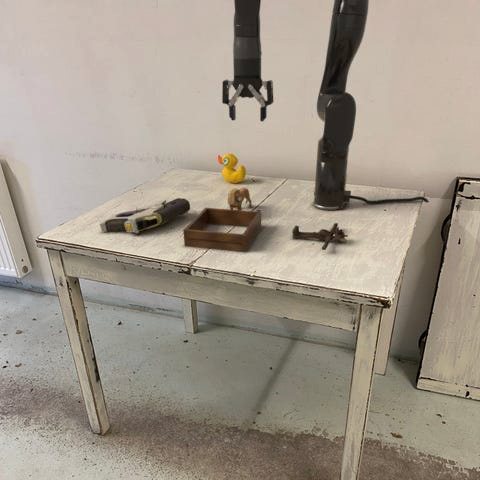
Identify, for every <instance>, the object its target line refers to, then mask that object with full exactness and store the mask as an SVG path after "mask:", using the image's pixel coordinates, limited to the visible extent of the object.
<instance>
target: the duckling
mask: <svg viewBox="0 0 480 480" xmlns="http://www.w3.org/2000/svg"><path fill="white" fill-rule="evenodd" d="M217 161H218V163H219V164H220V165H223V168H222V170H221V175H222V178H223V179H224V180H225V181H226V182H227V183H230V184H231V183H232V184H238V183H240V182H243V181H244V180H245V179H246V176H247V170H246V166H244V165H243V164H240V165H238V163H239V158H237V157H236V155H235V154H233V153H226V154H224V155H223V156H222V157H221V155H217ZM237 165H238V167H237V170H236V169H235V168H236V166H237Z"/></svg>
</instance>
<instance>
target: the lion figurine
mask: <svg viewBox="0 0 480 480" xmlns="http://www.w3.org/2000/svg"><path fill="white" fill-rule="evenodd" d="M244 199H245V200H244ZM244 201H245V202H244ZM243 202H244V203H245V204H248V205H247V208H252V207H253V205H252V199H251V195H250V190H249V189H248V188H246V187H241V188H240V187H239V188H236V187H235V188H234V187H233V188H232V189H230V190H229V192H228V193H227V204H228V205H229V209H230V210H234V209H235V210H242V207H243V205H242V204H243Z"/></svg>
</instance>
